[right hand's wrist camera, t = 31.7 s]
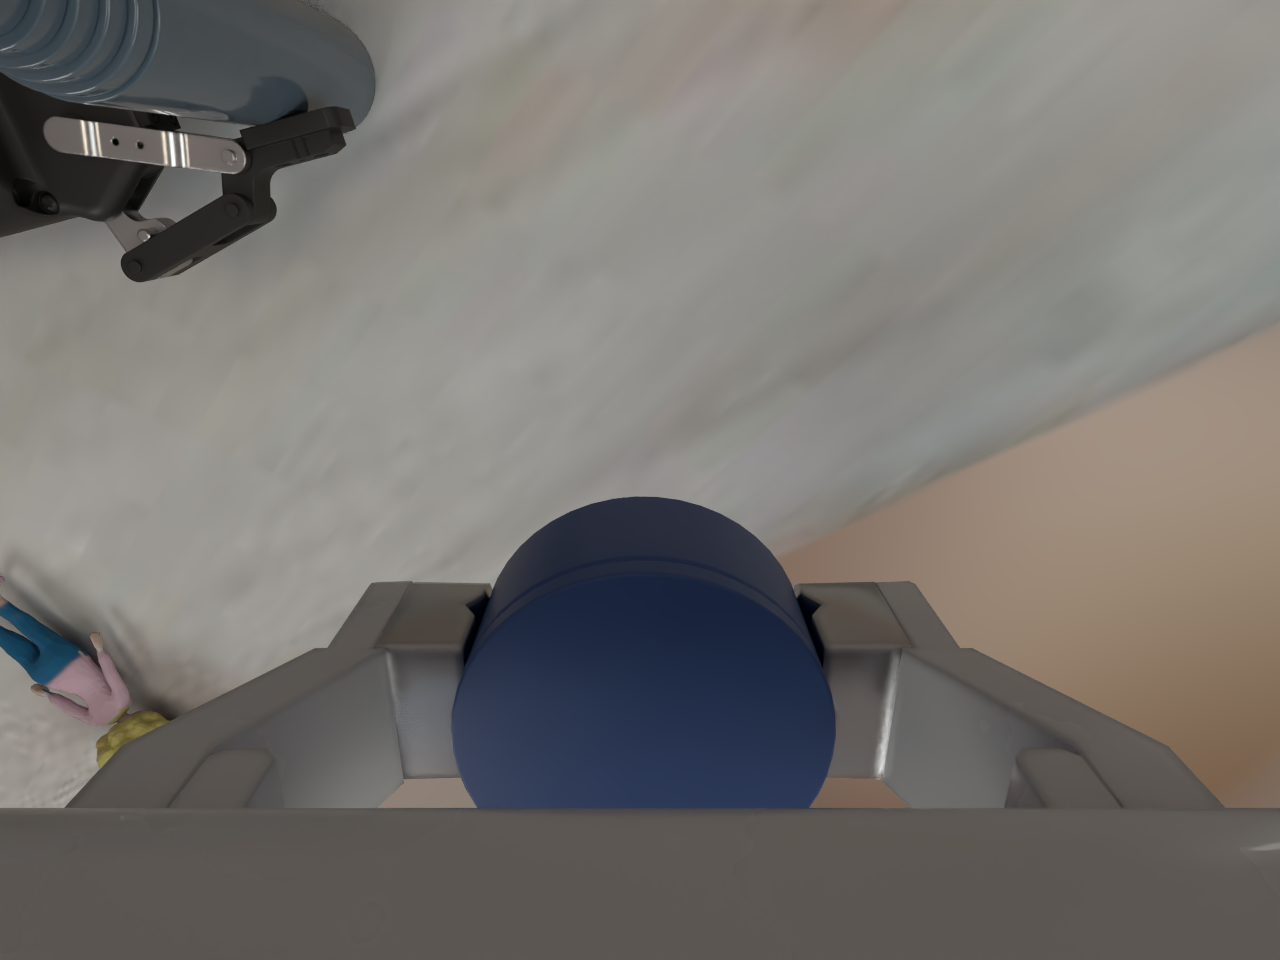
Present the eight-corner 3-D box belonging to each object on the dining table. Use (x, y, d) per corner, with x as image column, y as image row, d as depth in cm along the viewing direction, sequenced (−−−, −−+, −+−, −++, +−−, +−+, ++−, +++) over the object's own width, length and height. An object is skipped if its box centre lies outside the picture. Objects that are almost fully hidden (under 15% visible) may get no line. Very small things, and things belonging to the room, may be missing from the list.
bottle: (379, 27, 34) (-37, -212, 13) (371, 146, 36) (-6, 101, 15) (266, 2, 34) (-344, -285, 13) (264, 123, 36) (-276, 45, 15)
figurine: (-27, 607, 46) (165, 772, 49) (-98, 646, 42) (118, 823, 45) (32, 550, 44) (226, 724, 48) (-35, 585, 40) (183, 773, 44)
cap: (631, 426, 9) (629, 491, 7) (865, 629, 10) (917, 732, 8) (421, 648, 10) (372, 754, 8) (651, 811, 11) (655, 938, 9)
